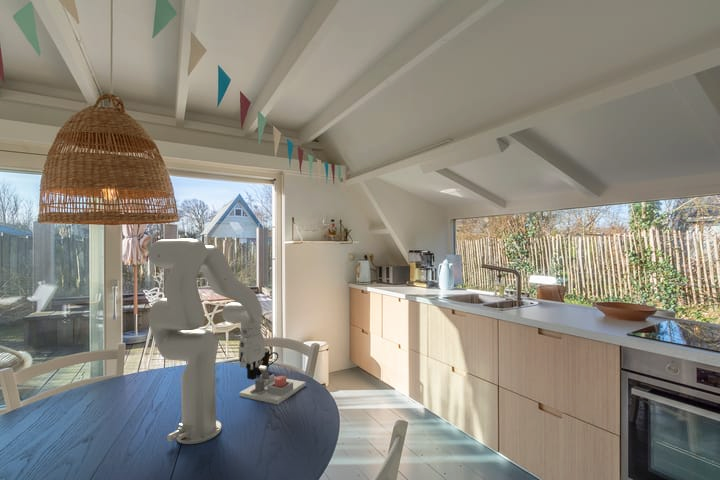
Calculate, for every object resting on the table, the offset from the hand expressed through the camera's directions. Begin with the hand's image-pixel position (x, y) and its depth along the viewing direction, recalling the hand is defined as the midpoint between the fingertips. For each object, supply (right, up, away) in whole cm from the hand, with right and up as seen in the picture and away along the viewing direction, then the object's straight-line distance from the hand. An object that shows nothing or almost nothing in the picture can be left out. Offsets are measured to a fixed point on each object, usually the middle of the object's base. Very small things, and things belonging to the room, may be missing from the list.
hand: (251, 378), depth 136 cm
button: (+12, -3, -2) cm, 12 cm away
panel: (+8, -6, +2) cm, 10 cm away
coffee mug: (-1, -6, +21) cm, 22 cm away
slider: (+4, -4, -3) cm, 6 cm away
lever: (+4, -3, +8) cm, 9 cm away
